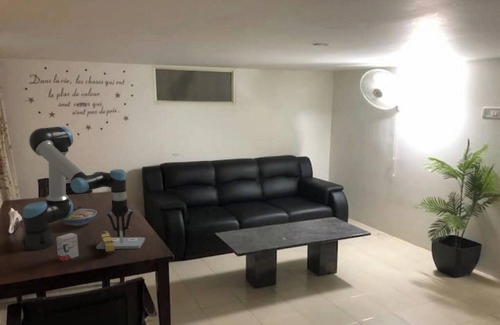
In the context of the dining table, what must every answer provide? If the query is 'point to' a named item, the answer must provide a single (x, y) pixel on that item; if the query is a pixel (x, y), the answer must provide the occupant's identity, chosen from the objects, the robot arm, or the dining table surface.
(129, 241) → the power panel
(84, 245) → the dining table surface
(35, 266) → the dining table surface
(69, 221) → the ramen bowl
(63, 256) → the ink box
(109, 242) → the banded tan post
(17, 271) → the dining table surface
